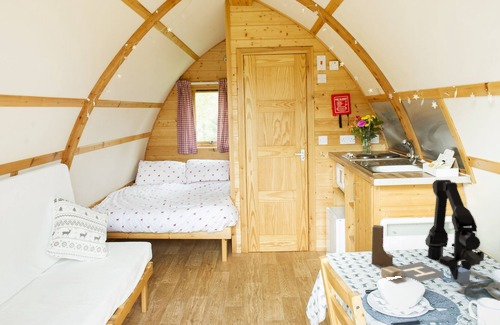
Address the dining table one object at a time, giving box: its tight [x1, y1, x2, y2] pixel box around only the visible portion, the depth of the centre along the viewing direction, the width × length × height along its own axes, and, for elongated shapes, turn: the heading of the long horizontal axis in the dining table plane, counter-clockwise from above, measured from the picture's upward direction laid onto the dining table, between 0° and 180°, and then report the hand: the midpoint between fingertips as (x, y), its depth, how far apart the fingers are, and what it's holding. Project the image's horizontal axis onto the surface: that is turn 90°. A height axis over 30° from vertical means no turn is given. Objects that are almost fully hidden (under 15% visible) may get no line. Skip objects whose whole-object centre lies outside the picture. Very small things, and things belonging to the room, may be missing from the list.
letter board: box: [394, 262, 445, 283], centre depth 195 cm, size 18×18×1 cm
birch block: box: [380, 265, 403, 278], centre depth 189 cm, size 6×6×4 cm
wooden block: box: [371, 224, 394, 267], centre depth 204 cm, size 9×4×18 cm, turn 65°
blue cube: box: [450, 266, 471, 284], centre depth 184 cm, size 5×5×5 cm
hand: (460, 278), depth 184 cm, fingers closed on blue cube, 5 cm apart
